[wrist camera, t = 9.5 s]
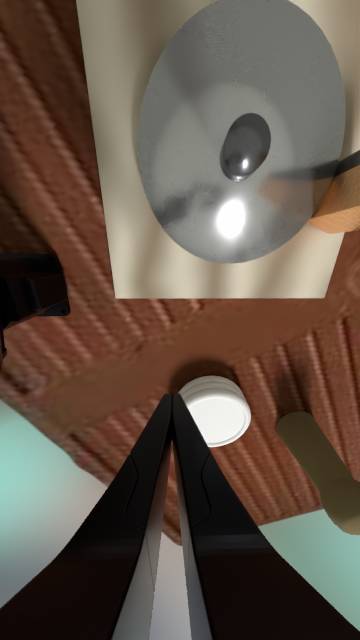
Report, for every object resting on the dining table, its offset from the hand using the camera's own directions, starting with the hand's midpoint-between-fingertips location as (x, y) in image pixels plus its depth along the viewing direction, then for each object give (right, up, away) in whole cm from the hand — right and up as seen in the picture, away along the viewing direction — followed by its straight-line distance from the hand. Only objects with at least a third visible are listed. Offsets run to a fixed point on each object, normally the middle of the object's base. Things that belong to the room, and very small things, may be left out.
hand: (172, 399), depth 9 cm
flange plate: (+6, +16, +5) cm, 18 cm away
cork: (+19, -13, +18) cm, 29 cm away
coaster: (+5, -8, +16) cm, 19 cm away
